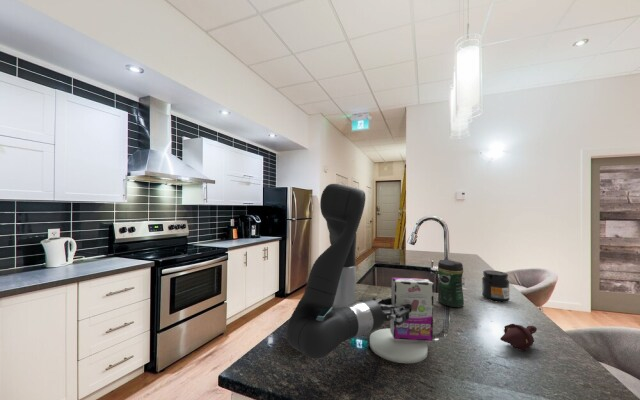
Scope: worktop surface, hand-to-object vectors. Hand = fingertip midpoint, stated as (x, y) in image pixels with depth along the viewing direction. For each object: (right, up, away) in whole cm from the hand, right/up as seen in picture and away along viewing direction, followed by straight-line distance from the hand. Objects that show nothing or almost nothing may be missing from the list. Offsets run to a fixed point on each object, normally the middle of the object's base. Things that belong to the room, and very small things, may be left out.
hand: (399, 304), depth 77 cm
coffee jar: (+33, -14, +35) cm, 50 cm away
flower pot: (-25, -12, +3) cm, 28 cm away
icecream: (+35, -13, 0) cm, 37 cm away
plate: (-1, -12, -1) cm, 12 cm away
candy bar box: (+3, -9, 0) cm, 10 cm away
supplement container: (+57, -15, +43) cm, 73 cm away
